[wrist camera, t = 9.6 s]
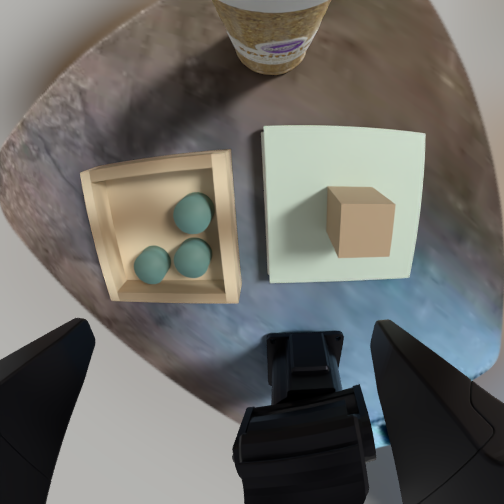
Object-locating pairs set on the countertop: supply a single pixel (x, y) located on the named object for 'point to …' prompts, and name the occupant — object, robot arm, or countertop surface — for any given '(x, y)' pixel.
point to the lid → (342, 202)
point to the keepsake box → (166, 228)
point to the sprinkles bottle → (271, 31)
